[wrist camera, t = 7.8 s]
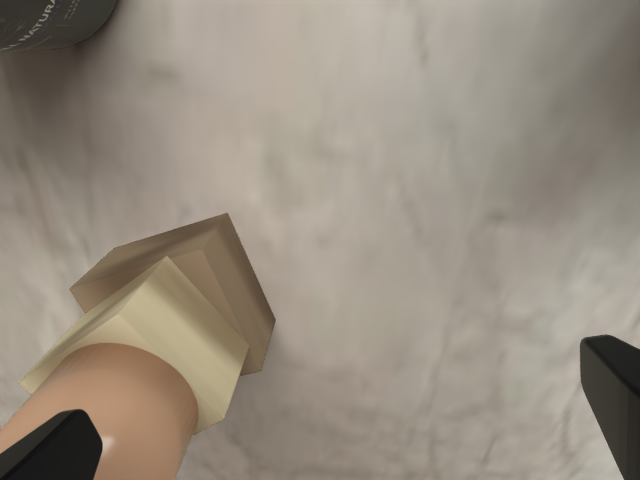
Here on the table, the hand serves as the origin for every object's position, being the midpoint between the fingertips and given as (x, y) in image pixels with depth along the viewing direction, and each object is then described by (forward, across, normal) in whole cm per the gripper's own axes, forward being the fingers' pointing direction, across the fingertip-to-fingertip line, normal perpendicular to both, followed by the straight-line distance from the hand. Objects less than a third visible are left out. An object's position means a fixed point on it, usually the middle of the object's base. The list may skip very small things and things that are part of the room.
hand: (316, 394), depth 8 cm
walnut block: (+13, +8, +4) cm, 16 cm away
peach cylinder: (+5, +8, +4) cm, 10 cm away
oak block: (+9, +8, +4) cm, 13 cm away
